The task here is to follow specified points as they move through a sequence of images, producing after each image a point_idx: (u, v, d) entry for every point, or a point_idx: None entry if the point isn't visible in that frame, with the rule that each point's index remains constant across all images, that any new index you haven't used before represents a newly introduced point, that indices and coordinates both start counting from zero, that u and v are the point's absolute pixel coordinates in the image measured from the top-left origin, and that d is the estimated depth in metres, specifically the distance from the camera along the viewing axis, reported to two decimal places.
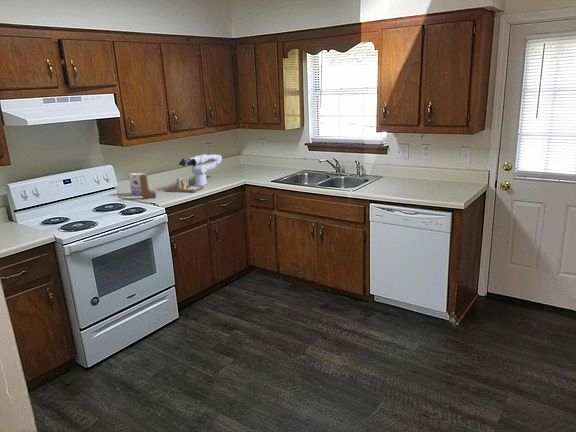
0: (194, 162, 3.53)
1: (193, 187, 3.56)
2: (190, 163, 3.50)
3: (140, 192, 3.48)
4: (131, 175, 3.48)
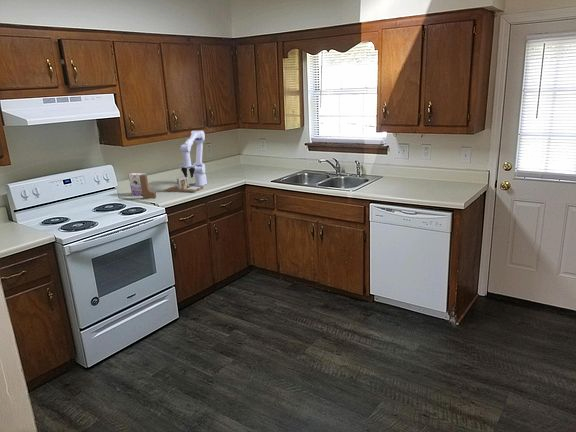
0: (192, 169, 3.49)
1: (193, 187, 3.56)
2: (192, 173, 3.51)
3: (140, 192, 3.48)
4: (131, 175, 3.48)
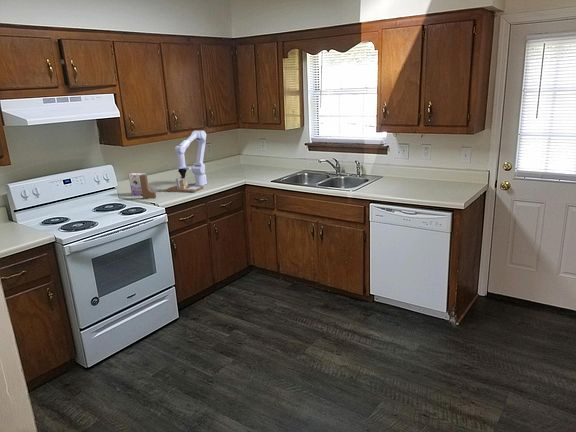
0: (184, 170, 3.52)
1: (193, 187, 3.56)
2: (184, 175, 3.54)
3: (140, 192, 3.48)
4: (131, 175, 3.48)
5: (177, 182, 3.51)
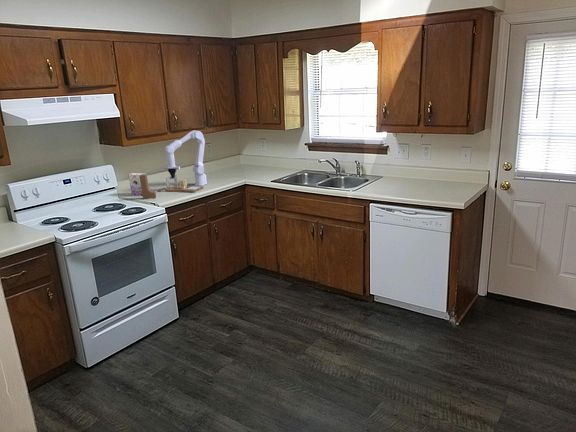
0: (174, 170, 3.56)
1: (193, 187, 3.56)
2: (173, 174, 3.57)
3: (140, 192, 3.48)
4: (131, 175, 3.48)
5: (167, 182, 3.54)
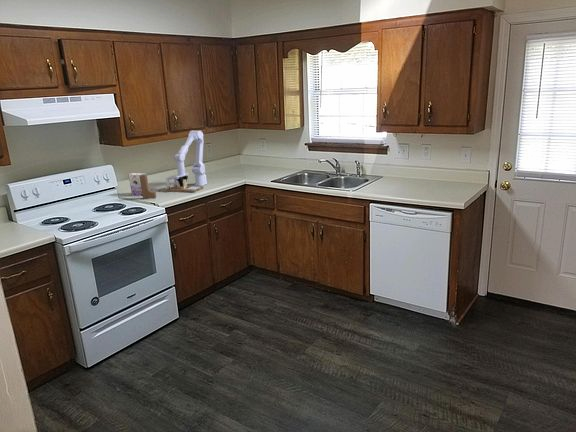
0: (179, 179, 3.52)
1: (193, 187, 3.56)
2: (180, 183, 3.54)
3: (140, 192, 3.48)
4: (131, 175, 3.48)
5: (167, 182, 3.54)
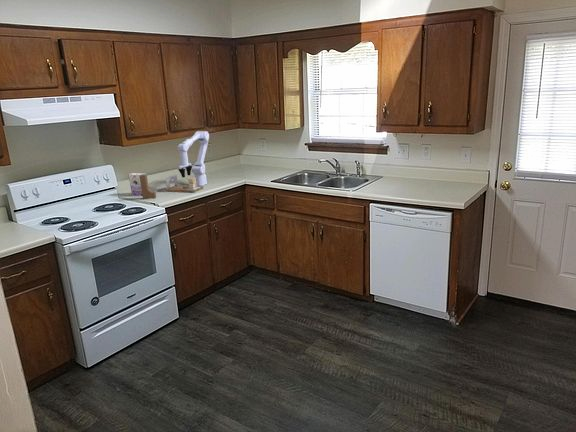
0: (181, 169, 3.50)
1: None
2: (182, 174, 3.52)
3: (140, 192, 3.48)
4: (131, 175, 3.48)
5: (167, 182, 3.54)
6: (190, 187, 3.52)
